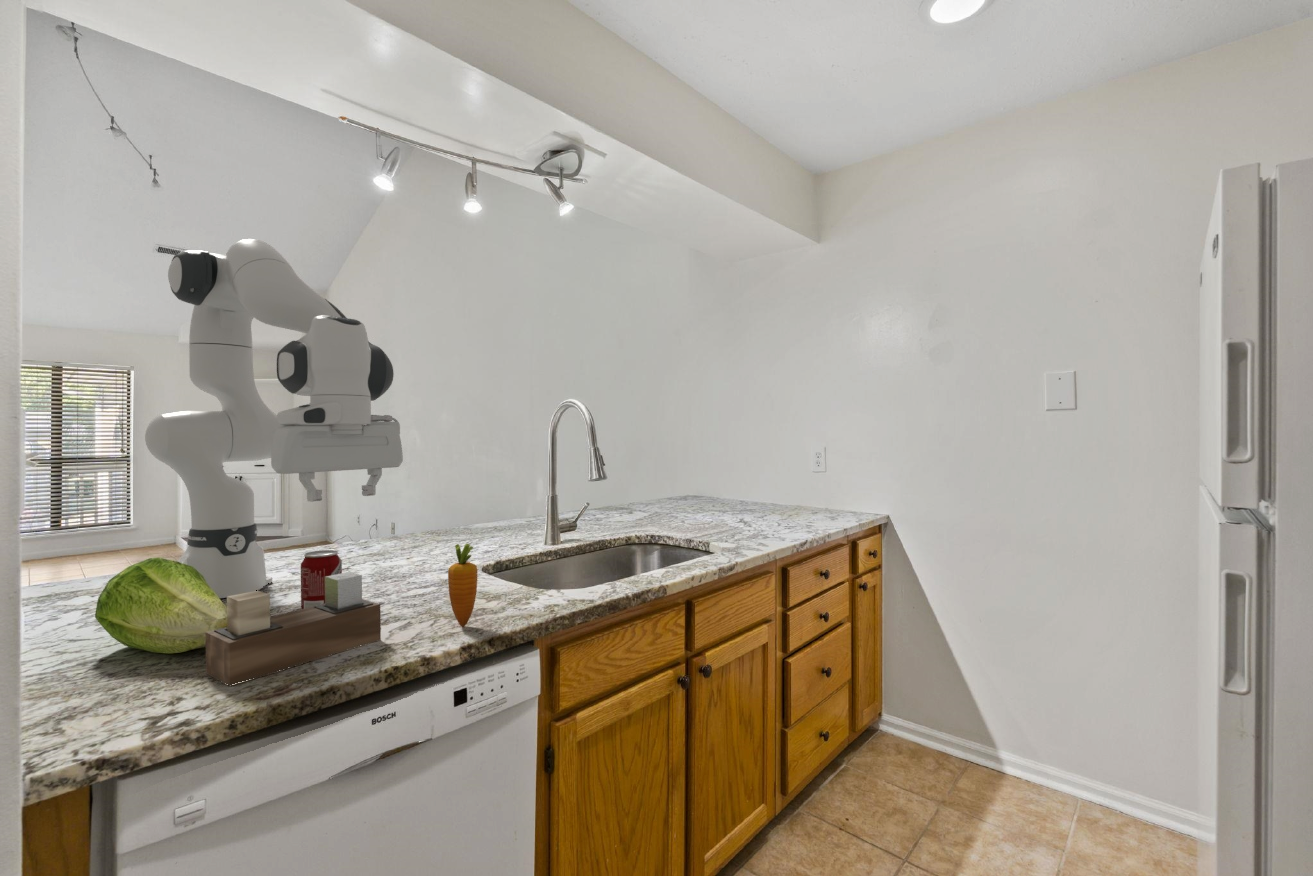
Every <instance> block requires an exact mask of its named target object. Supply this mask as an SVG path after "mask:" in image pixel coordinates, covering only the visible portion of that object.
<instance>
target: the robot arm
mask: <svg viewBox="0 0 1313 876" xmlns="http://www.w3.org/2000/svg"><path fill="white" fill-rule="evenodd" d="M167 277H168V279H167V280H168V283H169V286H170V290H171V292H172V294H173V295H174V296H175V297H176V298H177V299H178V300H179V301H181V302H185V303H187V304H190V305H193V309H192V314H191V319H190V326H189V336H188V337H189V338H188V339H189V340H188V341H189V344H188V345H189V346H188V348H189V349H188V350H189V352H188V353H189V354H188V355H189V356H188V357H189V365H188V366H189V379H190V381H191V383H193V385H194V386H195V387H196V388H198V390H201V391H203V392H205V393H207V394H209V395H211V396H214V397H216V399H217V400H218V401H219V403H220V405H221V407H222V408H221V409H222V410H221V411H219V410H217V411H216V410H214V411H213V410H182V411H175V412H173V411H172V412H167V413H161V414H158V415H156V416H154V418H153V419H152V420H151V421H150V423H148V425H147V427H146V430H145V434H144V438H145V439H144V440H145V445H146V447H147V450H148V451H149V453H150V454H151V455H152V456H153V457H154V458H155V459H157V460H158V461H160V462H162V463H164V464H165V465H167V466H168V467H170V468H171V469H173V470H174V471H175V472H176V474H177V475H178V476H179V477H180V479H181V480H182V481H183V483H184V485H185V487H186V490H187V492H188V496H189V503H190V516H191V518H190V519H191V520H190V521H191V527H190V528H189V530H188V534H187V542H186V545H188V547H187V549H185V550H184V552H183V554H182V555H181V556H180V557H179V559H178V560H176V562H180V563H183V564H186V565H189V566H192V567H193V568H195V569H196V570H197V571H198V572H199V573H200V574H201V575H202V576H203V577H204V579H205V581H206V583H207V584H208V585H209V587H210V588H211V589H212V590H213V591H214V592H215V593H216V594H217V596H218V597H219V598H220V599H224V598H226V599H227V596H232V595H237V594H242V593H247V592H252V591H256V590H258V591H260V590H261V589H263V588H264V587H266V585H269V584H271V582H272V581H273V577H270V576H267V572H266V562H265V552H264V551H265V550H264V547H263V546H261V545H259V544H258V543H257V540H258V528H257V524H256V523H255V493H254V491H253V489H252V487H251V486H250V485H249V484H248V483H247V482H244V481H242V480H240V479H238V478H235V477H232V476H229V475H228V474H227V473H226V472H225V469H224V466H223V464H224V463H226V462H227V463H228V462H229V463H230V462H251V461H252V462H253V461H261V460H267V459H270V463H271V468H272V469H273V471H275V473H277V474H281V475H285V474H286V475H289V474H291V475H292V474H298V480H299V482H300V483H301V485H302V487H304V489H305V491H306V499H307V502H321V501H322V500H323V496H322V494H323V490H322V489H319V488H318V489H317V488H316V486H315V485H314V482H313V481H312V480H315V479H316V477H315V476H316V475H315V474H316V473H324V472H326V473H327V472H337V471H339V472H340V471H353V470H355V471H356V470H367V475H368V476H369V477H368V480H367V482H366V484H363V485H361V490H362V491H361V495H362V496H364V497H369V496H370V497H371V496H375V495H376V490H377V487H376V485H377V484H378V483H379V480H380V479H381V477H382V476H383V469H387V468H388V469H391V468H399V467H401V464H402V463H403V462H404V461H403V460H404V456H403V455H404V454H403V446H402V439H401V425H400V422H399V421H398V419H396V418H395V417H393V416H392V415H390V414H384V415H380V414H372V410H371V409H372V404H371V403H372V402H371V401H374V402H375V401H376V400H377V399H378V398H380V397H382V396H383V395H384V394H385V393H386V392H388V390H390V389H389V388H390V387H392V384H393V381H394V366H393V364H392V362H391V360H390V358H389V356H388V354H386V352H385V351H384V350H383V349H382V348H381V347H379V346H378V345H375V344H372V343H371V342H370V341H369V338H368V337H369V336H368V333H367V328H366V325H365V324H364V323H363V322H361V321H360V320H358V319H355V318H348V317H347V316H346V315H345V314H344V313H343V312H342V311H341V310H339V308H338V307H336V306H335V305H334V304H333V303H331V302H330V301H329V300H327V299H326V298H324V297H323V296H321V295H320V294H319V293H318V292H316V291H315V290H314V289H312V288H311V287H310V286H309V285H308V284H307V283H305V282H304V281H303V280H302V278H301V277H300V276H298V274H297V273H296V272H295V270H294V269H293V267H292V266H291V264H290V263H289V262H288V261H287V259H286V258H284V256H283V255H282V254H281V253H280V252H279V251H278V250H277V249H276V248H274V247H273V246H271V244H269V243H267V242H265V241H262V240H260V239H253V238H248V239H241V240H239V241H237V242H235V243H233V244H232V245H231V246H230V247H229V248H228V250H227V252H226V254H222V253H221V254H220V253H213V252H209V251H207V250H205V251H204V250H182V251H180V252H179V253H177V254H175V255H174V256H173V258H172V259H171V262H170V264H169V266H168V271H167ZM253 319H256V320H257V321H259V322H261V323H263V324H265V325H269V326H272V327H276V328H279V329H281V328H282V329H285V330H290V331H295V332H300V333H303V334H304V335H303V336H301V337H300V338H299V339H297V340H291V341H290V342H288V343H287V344H285V345H284V346H283V347H282V348H280V350H279V351H278V352H277V355H276V376H277V379H278V380H277V381H279V383H280V384H281V386H283V388H285V390H287V392H289V393H291V394H292V395H293V394H294V395H297V396H298V395H299V396H304V397H310V400H309V401H310V402H309V403H306V404H302V405H299V406H296V407H292V408H289V409H284V410H281V411H279V412H278V413H275V412H273V410H272V409H270V408H269V407H268V406H267V404H266V403H265V402H264V400H263V399H262V398H261V395H260V394H259V392H258V389H257V386H256V383H255V376H254V375H255V373H254V360H253V336H252V335H253V333H252V332H253V331H252V322H253ZM273 582H274V581H273ZM273 582H272V583H273ZM268 583H269V584H268ZM263 586H264V587H263Z"/></svg>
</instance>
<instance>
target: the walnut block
mask: <svg viewBox="0 0 1313 876" xmlns="http://www.w3.org/2000/svg"><path fill="white" fill-rule="evenodd" d="M381 621H382V620H381V604H380V603H377V602H375V601H371V600H368V599H364V598H362V605H358V606H354V607H350V608H346V609H342V610H338V611H337V610H333V609H330V608H327V607H325V604H321V605H317V606H313V607H309V608H304V609H301V608H300V609H297V610H292V611H288V612H283V613H280V614H276V615H272V616H271V615H270V628H267V629H263V630H259V631H255V632H251V633H247V634H243V635H239V636H237V635H235V634H233V633H230V632H228V631H227V627H225V628H221V629H216V630H212V631H208V632H205V636H206V647H205V674H206V675H209V676H210V677H211V678H213V679H215V680H217V679H218V680H217V681H219V682H221V681H222V682H223V684H224V683H226V684H228V685H232V684H235V683H238V682H242V681H246V680H249V679H253V678H256V679H258V677H259V678H261V677H260V676H263V677H265V675H266V676H269V675H272V674H275V673H274V672H276V673H278V672H277V671H279V670H282V671H284V670H283V669H285V670H288V669H289V668H288V667H292V668H294V667H293V666H295V665H298V666H301V665H303V664H302V663H305V664H307V662H308V663H310V662H309V661H311V662H313V660H314V661H317V660H320V659H319V658H321V659H323V658H327V657H329V655H330V656H332V655H331V654H333V655H336V654H335V653H337V654H339V652H340V653H342V652H341V651H343V652H346V651H348V650H347V649H350V650H351V649H352V648H353V649H355V648H354V647H356V648H359V647H361V646H360V645H362V646H365V644H366V645H368V643H369V644H372V643H376V642H378V641H377V640H379V641H381V639H382V638H381V637H382V636H381V635H382V634H381V629H382V628H381V627H382V626H381ZM371 642H372V643H371ZM358 646H359V647H358ZM345 650H346V651H345ZM326 656H327V657H326ZM300 664H301V665H300ZM295 667H296V666H295ZM287 668H288V669H287ZM279 672H280V671H279ZM268 674H269V675H268ZM253 680H254V679H253ZM222 682H221V683H222ZM226 684H225V685H226ZM228 685H227V686H228Z"/></svg>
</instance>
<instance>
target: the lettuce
mask: <svg viewBox="0 0 1313 876" xmlns="http://www.w3.org/2000/svg"><path fill="white" fill-rule="evenodd" d="M96 601H97V602H96V608H95V612H94V613H95V614H94V618H95V619H96V621H97V622H98V623H99V625H100V626H102V628H103V629H104V630H105V631H106V633H108V634H109V636H110V637H111V638H113V640H115V641H116V642H117V641H118V643H120V644H121V645H123V646H125V647H129V648H132V649H136V650H142V651H147V652H151V653H156V654H177V653H179V654H180V653H184V652H188V651H191V650H197V649H202V648H206V636H205V632H208V631H212V630H216V629H221V628H225V627H227V604H225V603H224V602H223V601H222V600H221V598H219V597H218V596H217V594H216V593H215V592H214V591H213V590H212V589H211V588H210V587H209V585H208V584H207V583H206V581H205V579H204V577H203V576H202V575H201V574H200V573H199V572H198V571H197V570H196V569H195V568H193V567H192V566H189V565H186V564H183V563H180V562H177V560H171V559H166V558H161V557H149V558H146V559H144V560H142V561H138V562H137V563H134V564H132V565H129V566H127V567H126V568H124V569H123V570H121V571H120V572H119V573H117V574H116V575H114V576H113V577H112V578H110V579H109V580H108V581H107V583H106V584H105V586H104V588H103V590H102V591H101V593H100V594H99V596H98V598H97V600H96Z"/></svg>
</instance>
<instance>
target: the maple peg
mask: <svg viewBox="0 0 1313 876" xmlns="http://www.w3.org/2000/svg"><path fill="white" fill-rule="evenodd" d="M226 606H227V631H228V632H230V633H233V634H235V635H237V636H239V635H243V634H247V633H251V632H255V631H259V630H263V629H267V628H270V617H271V595H270V593H266V592H263V591H260V590H257V591H252V592H247V593H242V594H237V595H232V596H227V597H226Z"/></svg>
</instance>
